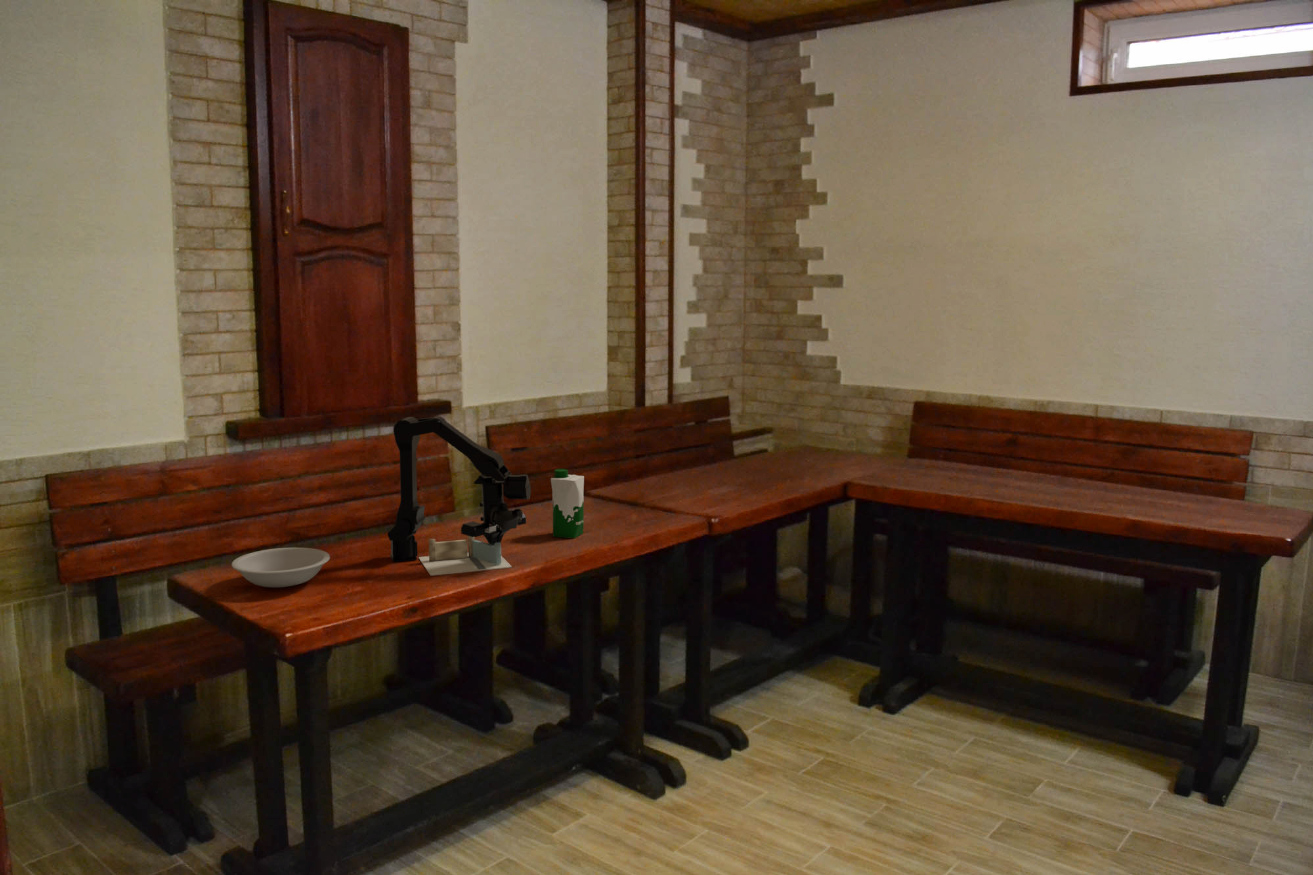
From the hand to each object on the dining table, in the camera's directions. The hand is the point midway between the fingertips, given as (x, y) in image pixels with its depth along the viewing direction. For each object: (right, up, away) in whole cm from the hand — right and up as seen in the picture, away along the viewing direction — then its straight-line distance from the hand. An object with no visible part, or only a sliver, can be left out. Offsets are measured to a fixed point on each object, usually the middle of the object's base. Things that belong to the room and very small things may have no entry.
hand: (495, 553), depth 309 cm
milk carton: (+18, +2, +30) cm, 35 cm away
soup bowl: (-52, -6, -21) cm, 56 cm away
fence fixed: (-12, -2, +2) cm, 13 cm away
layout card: (-8, -2, -1) cm, 9 cm away
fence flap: (-2, -2, -1) cm, 3 cm away
